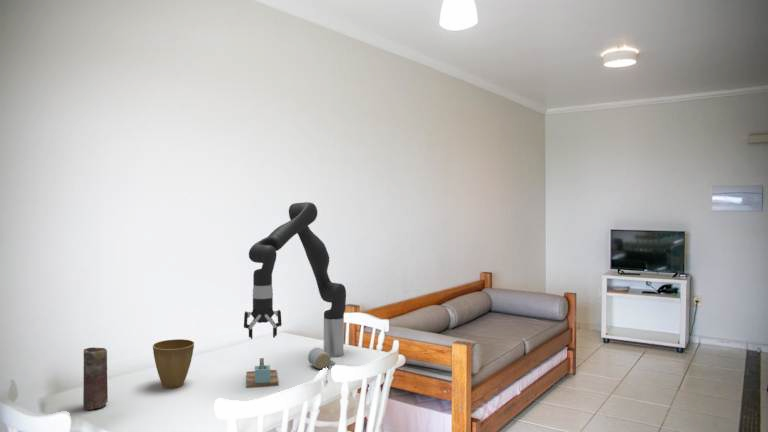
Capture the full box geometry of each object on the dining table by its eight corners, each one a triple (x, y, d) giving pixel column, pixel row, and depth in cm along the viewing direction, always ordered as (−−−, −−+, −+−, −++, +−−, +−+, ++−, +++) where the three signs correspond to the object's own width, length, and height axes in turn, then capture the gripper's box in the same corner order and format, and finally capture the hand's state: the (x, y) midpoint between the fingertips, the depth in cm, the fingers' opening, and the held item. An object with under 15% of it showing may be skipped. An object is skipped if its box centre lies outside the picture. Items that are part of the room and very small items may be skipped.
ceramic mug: (316, 371, 225) (316, 353, 225) (307, 366, 232) (308, 348, 232) (338, 367, 231) (338, 349, 231) (329, 362, 238) (329, 345, 238)
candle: (89, 402, 189) (89, 345, 188) (111, 402, 189) (111, 345, 189) (79, 411, 181) (78, 352, 180) (102, 410, 182) (101, 351, 181)
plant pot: (154, 394, 197) (154, 351, 197) (151, 382, 210) (151, 341, 210) (197, 388, 204) (197, 346, 203) (191, 376, 217) (191, 337, 217)
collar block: (254, 378, 212) (254, 366, 212) (269, 377, 213) (269, 365, 213) (255, 383, 206) (255, 370, 206) (270, 382, 208) (270, 369, 208)
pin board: (246, 374, 220) (246, 357, 220) (276, 372, 223) (276, 355, 223) (246, 387, 205) (246, 369, 205) (278, 385, 208) (278, 366, 208)
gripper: (280, 293, 214) (280, 334, 215) (243, 295, 211) (243, 336, 211) (281, 297, 207) (281, 339, 207) (243, 298, 203) (243, 341, 204)
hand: (262, 337), depth 209 cm, fingers open, 8 cm apart
